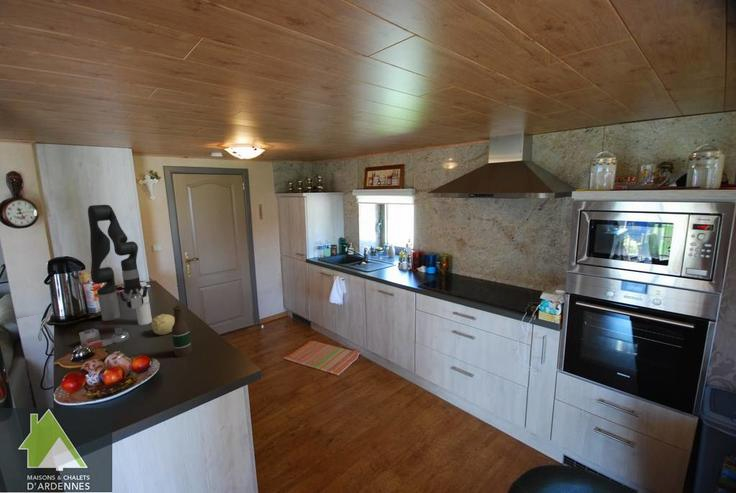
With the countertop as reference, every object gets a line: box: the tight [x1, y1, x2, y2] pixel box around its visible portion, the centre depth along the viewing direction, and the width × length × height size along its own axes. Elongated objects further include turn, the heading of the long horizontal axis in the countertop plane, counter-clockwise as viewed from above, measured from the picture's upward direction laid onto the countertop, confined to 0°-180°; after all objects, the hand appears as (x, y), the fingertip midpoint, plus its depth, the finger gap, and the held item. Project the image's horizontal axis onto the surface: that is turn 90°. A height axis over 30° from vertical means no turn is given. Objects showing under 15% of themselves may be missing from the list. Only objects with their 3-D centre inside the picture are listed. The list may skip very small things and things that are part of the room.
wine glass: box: [75, 325, 130, 350], centre depth 175 cm, size 8×22×7 cm, turn 140°
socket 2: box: [130, 295, 143, 310], centre depth 188 cm, size 5×5×7 cm
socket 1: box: [78, 328, 101, 346], centre depth 177 cm, size 6×6×8 cm
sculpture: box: [151, 313, 175, 336], centre depth 188 cm, size 12×12×11 cm
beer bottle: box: [171, 305, 193, 358], centre depth 161 cm, size 8×8×24 cm
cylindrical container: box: [134, 281, 153, 326], centre depth 202 cm, size 7×7×25 cm
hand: (135, 305), depth 189 cm, fingers closed on socket 2, 5 cm apart
